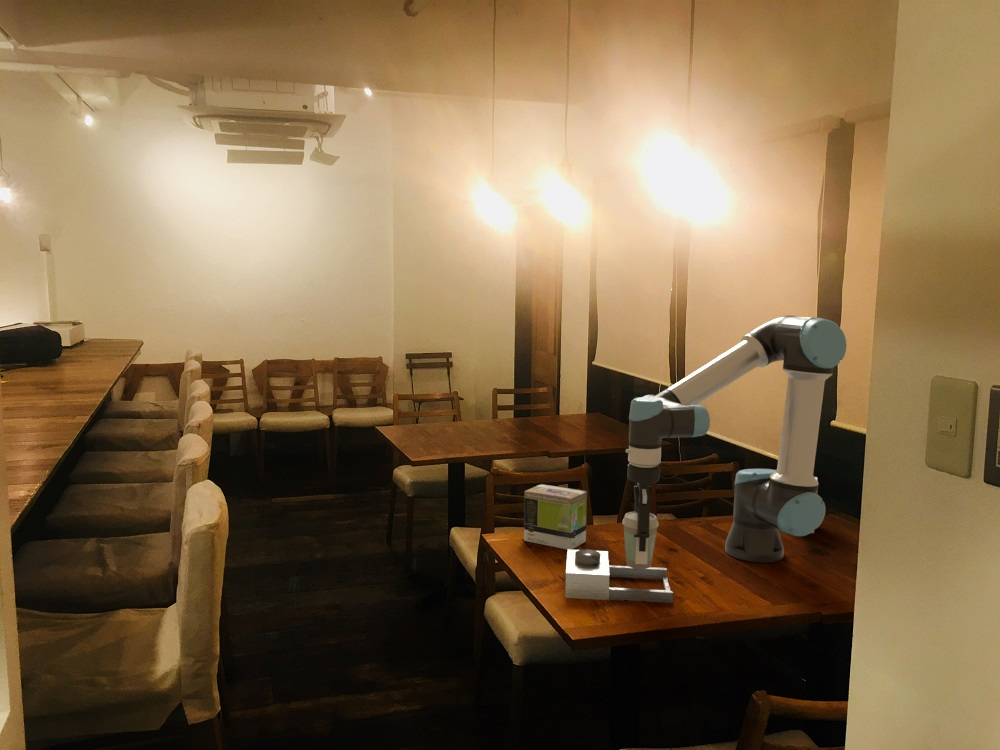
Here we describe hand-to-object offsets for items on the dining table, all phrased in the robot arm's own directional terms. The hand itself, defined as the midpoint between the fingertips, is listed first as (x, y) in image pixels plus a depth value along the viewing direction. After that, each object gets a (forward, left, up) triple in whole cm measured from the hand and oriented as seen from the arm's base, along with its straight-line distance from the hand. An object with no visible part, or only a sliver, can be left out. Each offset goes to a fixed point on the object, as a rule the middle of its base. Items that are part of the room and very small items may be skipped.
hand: (640, 557), depth 192 cm
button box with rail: (+5, 0, -8) cm, 9 cm away
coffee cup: (0, 0, -2) cm, 2 cm away
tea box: (+21, -31, -8) cm, 39 cm away
